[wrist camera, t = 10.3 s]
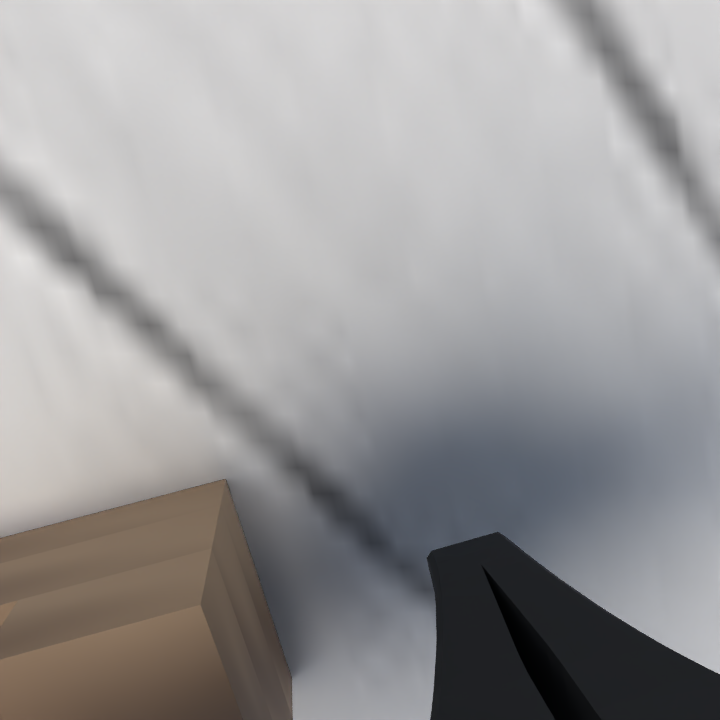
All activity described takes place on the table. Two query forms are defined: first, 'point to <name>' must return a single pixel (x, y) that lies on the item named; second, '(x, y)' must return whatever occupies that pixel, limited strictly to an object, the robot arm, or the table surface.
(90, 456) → the table surface
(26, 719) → the block
